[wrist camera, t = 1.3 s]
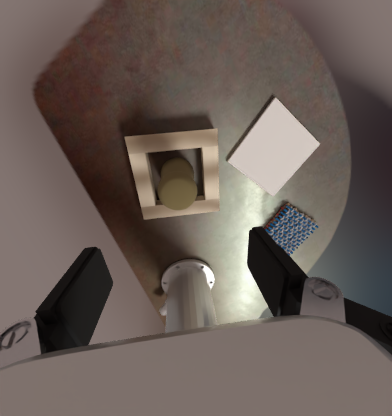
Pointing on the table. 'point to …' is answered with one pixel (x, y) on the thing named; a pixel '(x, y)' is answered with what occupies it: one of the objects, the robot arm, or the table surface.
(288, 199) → the table surface
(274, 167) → the ceramic tile
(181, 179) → the cork
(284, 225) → the woven mat
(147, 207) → the wooden holder
